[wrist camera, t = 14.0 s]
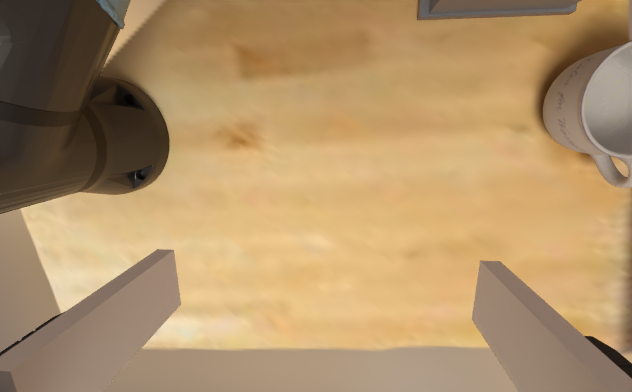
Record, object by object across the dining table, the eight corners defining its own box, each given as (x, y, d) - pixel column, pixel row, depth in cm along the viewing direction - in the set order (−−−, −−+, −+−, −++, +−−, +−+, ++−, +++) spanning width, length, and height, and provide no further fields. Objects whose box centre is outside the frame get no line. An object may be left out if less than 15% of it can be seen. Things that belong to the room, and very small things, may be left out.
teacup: (535, 57, 33) (593, 37, 25) (641, 50, 32) (736, 28, 24) (519, 178, 36) (567, 193, 29) (615, 176, 35) (691, 191, 28)
